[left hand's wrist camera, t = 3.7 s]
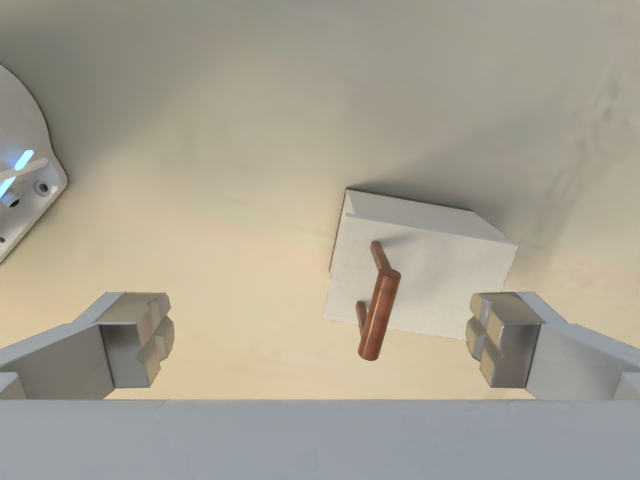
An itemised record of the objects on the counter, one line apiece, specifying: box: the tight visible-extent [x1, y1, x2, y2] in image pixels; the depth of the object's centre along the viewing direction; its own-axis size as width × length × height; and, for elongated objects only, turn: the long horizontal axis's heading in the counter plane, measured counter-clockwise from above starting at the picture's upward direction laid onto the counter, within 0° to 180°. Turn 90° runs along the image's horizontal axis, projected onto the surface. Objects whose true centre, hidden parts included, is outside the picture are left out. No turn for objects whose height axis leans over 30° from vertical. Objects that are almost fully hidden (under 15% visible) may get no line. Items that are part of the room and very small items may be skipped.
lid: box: [323, 213, 519, 361], centre depth 29 cm, size 14×10×8 cm, turn 80°
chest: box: [329, 188, 512, 279], centre depth 37 cm, size 13×10×9 cm
